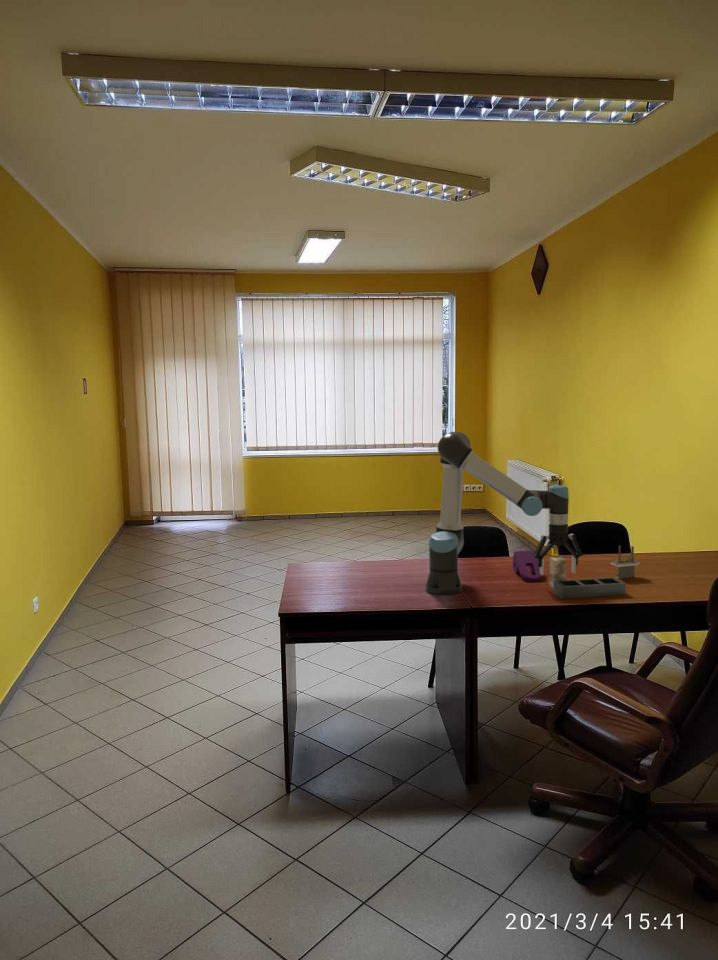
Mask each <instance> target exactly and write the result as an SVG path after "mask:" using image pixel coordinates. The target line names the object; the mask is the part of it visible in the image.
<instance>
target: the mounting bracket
mask: <svg viewBox="0 0 718 960" xmlns="http://www.w3.org/2000/svg"><path fill="white" fill-rule="evenodd" d="M535 551H536V550H516V551H513V556H512V570H513V572H514V574H519V575H520V577H521V578H522V579H523V580H525V581H527V582H538V581H541V580H542V578H543V575H541V574H540V567H539V566H538V559H537V558H535V557H534V556H533V555H534V553H535ZM529 572H530V573H531V574H534V575H531V574H530V573H529Z"/></svg>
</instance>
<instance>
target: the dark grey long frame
mask: <svg viewBox="0 0 718 960" xmlns="http://www.w3.org/2000/svg"><path fill="white" fill-rule="evenodd" d="M615 577H616V576H614V577H597V578H579V579H578V578H576V579H566V580H558V581H554V586H553V588H552V589H553V592H554V593H555V595H557V596H558V597H560V598H561V599H572V598H574V599H575V598H589V597H593V598H594V597H606V596H609V597H610V596H621V595H623V596H624V595H626V592H627V590H626V589H627V586H626V585H627V583H626V582H624V581H622V580H621V579H618V578H615Z"/></svg>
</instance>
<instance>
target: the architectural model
mask: <svg viewBox="0 0 718 960" xmlns="http://www.w3.org/2000/svg"><path fill="white" fill-rule="evenodd" d="M634 553H635V547H634V546H633V545H632V546H631V549H630V554H625V555H621V545H618V559H617V560H613V561H611V562H610V565H611V566H612V565H613V566H615V567H617V568H615V576H614V577H615V578H617V579H619V580H623V579H627V578H628V579H630V578H634V577H635V566H638V565H640V561H638V560H636V559H635V558H636V556H635V554H634ZM629 577H630V578H629ZM622 578H623V579H622Z"/></svg>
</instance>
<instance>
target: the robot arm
mask: <svg viewBox="0 0 718 960" xmlns="http://www.w3.org/2000/svg"><path fill="white" fill-rule="evenodd" d="M437 452H438V454H439V457H440V462H439V464H440V465H441V466H442V467H443V472H442V485H441V487H442V488H441V499H440V500H441V501H440V503H441V504H440V514H439V515H440V519H439V522H438V523H437V524H436V526H435V532H433V533H432V534H431V535H430V536H429V538H428V539H429V540H428V546H429V547H428V550H429V551H428V553H429V554H428V555H429V562H428V563H429V572H428V574H427V579H426V581H425V591H426V593H427V592H428V593H430V594H432V595H440V596H450V595H456V594H459V593H461V592H462V591H463V583H462V581H461V577H460V574H459V569H458V567H459V565H458V564H459V563H458V562H459V559H458V557H459V556H458V555H459V554H460V552H461V551H462V550H463V548H464V545H465V540H464V526H463V525H462V524H461V518H462V517H461V514H462V500H463V486H464V473H465V472H464V471H466V472H467V473H468V474H470V475H471V476H473V477H474V478H476V479H477V480H479V482H482V483H483V484H485V485H486V486H488V487H489V488H491V489H492V490H493V491H495V492H497V493H498V494H499V495H501V496H502V497H504V498H505V499H507V500H508V501H510V502H511V503H513V504H514V505H515V506H517V507H518V508H520V510H522V511H523V513H524V514H525V515H527V516H530V517H535V516H537V515H539V514H540V513H541V511H542V510H548V522H549V524H548V535H544V534H541V536H540V540H539V543H538V545H537V547H536V549H535V550H534V551H535V553H534V555H533V556H534V557H535V558H537V559H538V566H539V567H540V574H541V575H542V576H545V559H544V557H546V555H547V554H548V552H549V551H550V550H551V549H552V548H553V547H554V546H555V547H559V546H560V547H563V546H565V547H566V548H567V550H568V551H569V552H570V553H571V554H572V556H571V562H570V563H571V568H570V570H571V571H570V572H571V573H572V574H576V573H577V565H579V559H580V557H582V556H583V551H582V549H581V547H580V546H579V543H578V542H577V537H576V534H575V533H570V534H568V533H569V524H568V523H569V501H570V500H569V499H570V497H569V494H570V493H569V488H568V487H567V486H566V485H563V484H561V485H560V484H559V485H558V484H555V485H550V486H549V489H548V490H547V489H546V490H538V489H537V490H536V489H535V490H534V489H533V490H531V489H527V488H526V487H524V486H523V485H521V484H520V483H518V482H517V481H515V480H514V479H512V478H511V477H509V476H508V475H506V474H505V473H503V472H502V471H500V470H499V469H497V468H496V467H495V466H493V465H491V464H490V463H489V462H488V461H485V460H484V459H483V458H481V457H480V456H478V455H477V454H475V451H474V449H473V448H471V442H470V439H469V437H468V436H467V435H466V434H465V433H463V432H461V431H450V432H449V433H447V434H445V435H443V436H442V437H441V438H440V440H439V441H438V444H437ZM568 540H571V543H572V545H573V546H574V549H575V550H574V549H573V547H572V546H571V545H570V544H569V542H568ZM546 542H547V543H546ZM545 544H546V545H545Z"/></svg>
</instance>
